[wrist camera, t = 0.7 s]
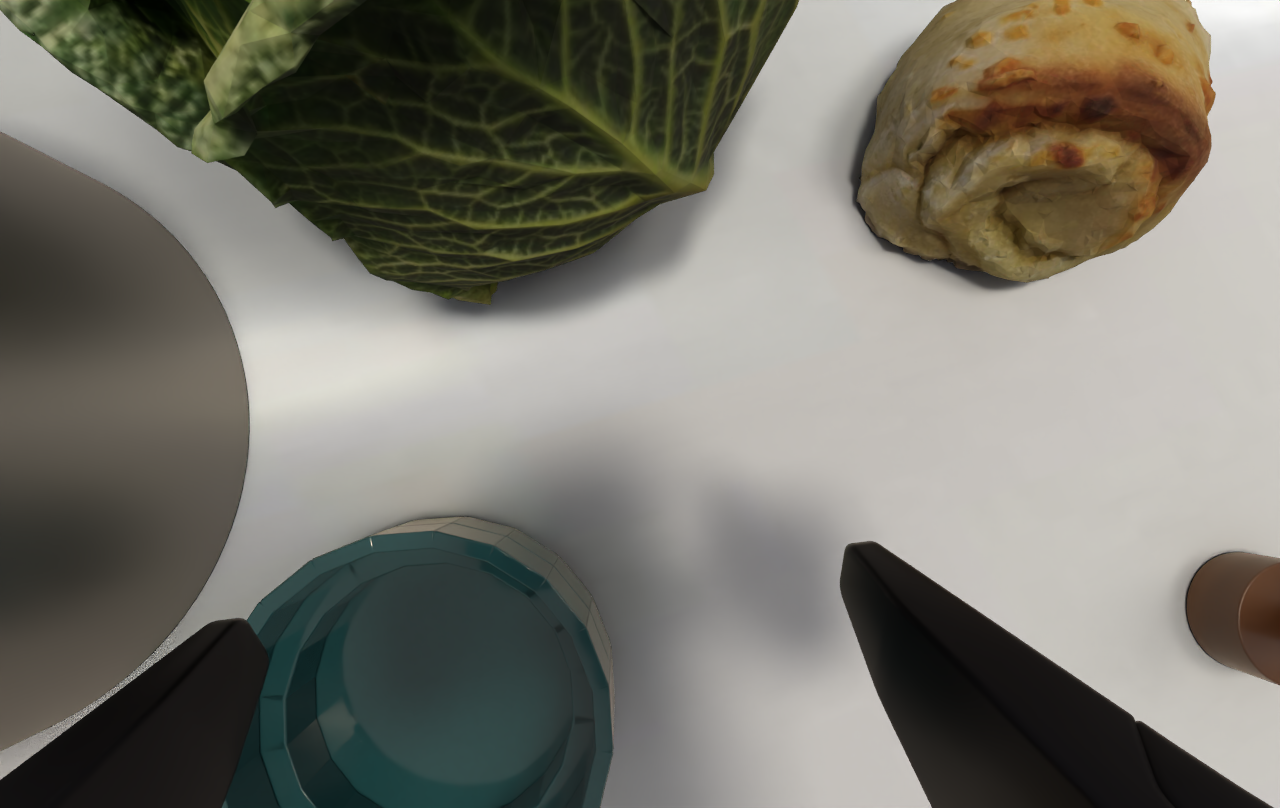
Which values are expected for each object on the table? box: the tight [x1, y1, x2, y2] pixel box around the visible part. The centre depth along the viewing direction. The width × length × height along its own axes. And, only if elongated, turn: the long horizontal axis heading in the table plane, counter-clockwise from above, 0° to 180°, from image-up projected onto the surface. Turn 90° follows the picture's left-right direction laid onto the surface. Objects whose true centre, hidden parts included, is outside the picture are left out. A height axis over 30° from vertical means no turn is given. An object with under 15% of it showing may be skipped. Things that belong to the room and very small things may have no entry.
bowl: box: [222, 516, 615, 808], centre depth 20 cm, size 13×13×4 cm
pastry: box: [856, 0, 1216, 282], centre depth 21 cm, size 14×12×8 cm
